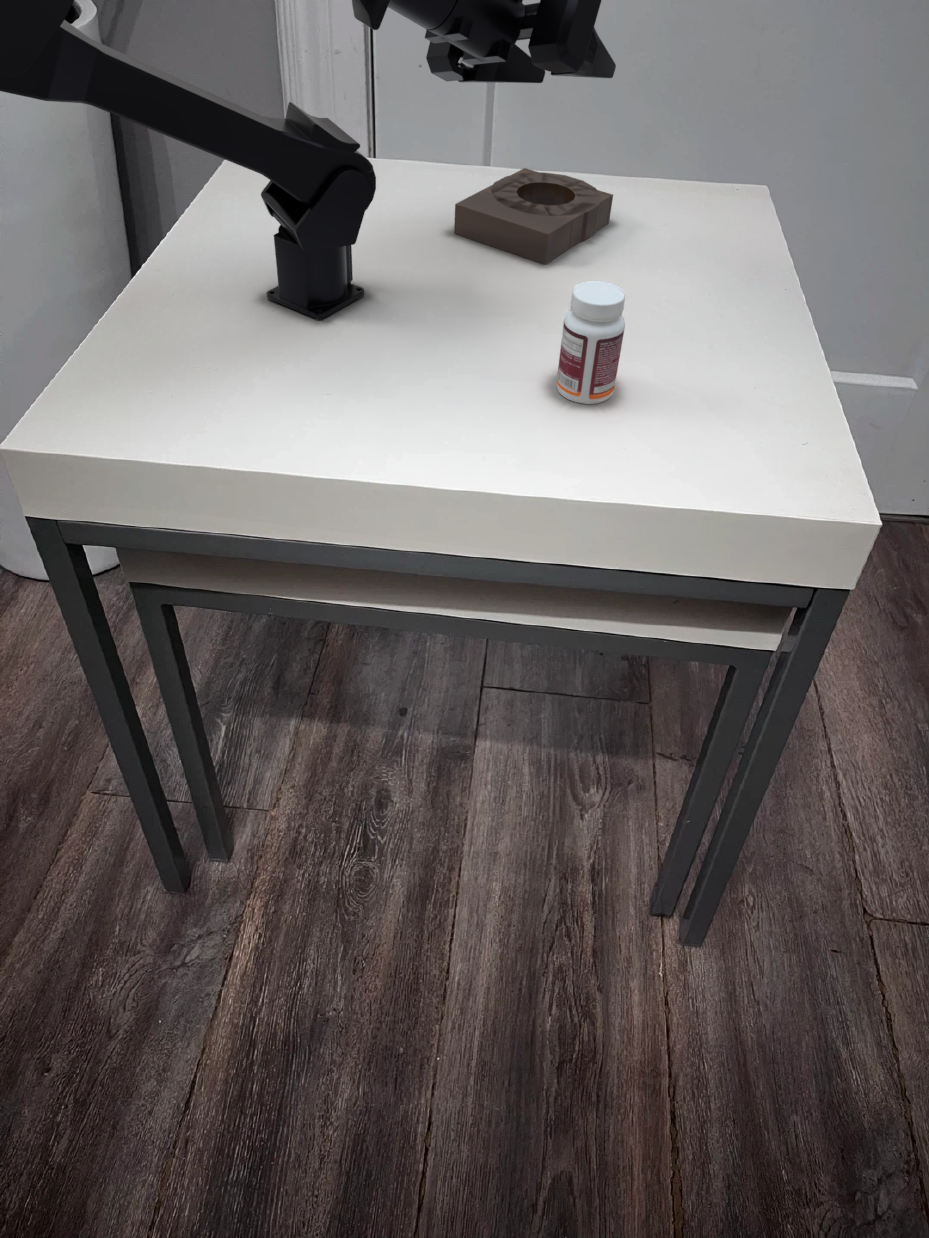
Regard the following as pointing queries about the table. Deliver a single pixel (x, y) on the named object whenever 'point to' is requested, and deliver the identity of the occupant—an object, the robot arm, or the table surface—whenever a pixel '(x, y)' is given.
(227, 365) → the table surface
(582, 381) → the pill bottle
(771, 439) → the table surface
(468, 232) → the brown block with hole
